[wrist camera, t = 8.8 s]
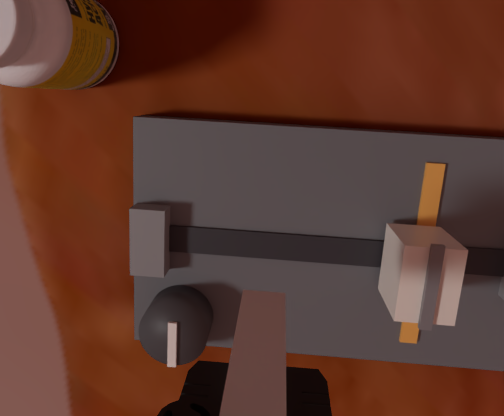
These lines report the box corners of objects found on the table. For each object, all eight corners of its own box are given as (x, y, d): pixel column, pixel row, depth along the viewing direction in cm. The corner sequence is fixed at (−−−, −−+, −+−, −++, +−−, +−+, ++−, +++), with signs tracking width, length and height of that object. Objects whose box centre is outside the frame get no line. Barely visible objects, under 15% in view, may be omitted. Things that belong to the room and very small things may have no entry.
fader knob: (387, 219, 26) (407, 243, 22) (441, 223, 26) (471, 248, 22) (377, 291, 27) (394, 327, 23) (429, 295, 27) (456, 332, 23)
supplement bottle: (138, 26, 27) (59, -11, 17) (95, 106, 28) (0, 114, 19) (56, -28, 26) (-71, -95, 17) (17, 57, 28) (-122, 38, 18)
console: (143, 115, 28) (117, 119, 24) (550, 140, 27) (603, 149, 22) (143, 324, 31) (120, 362, 27) (504, 354, 30) (542, 399, 26)
